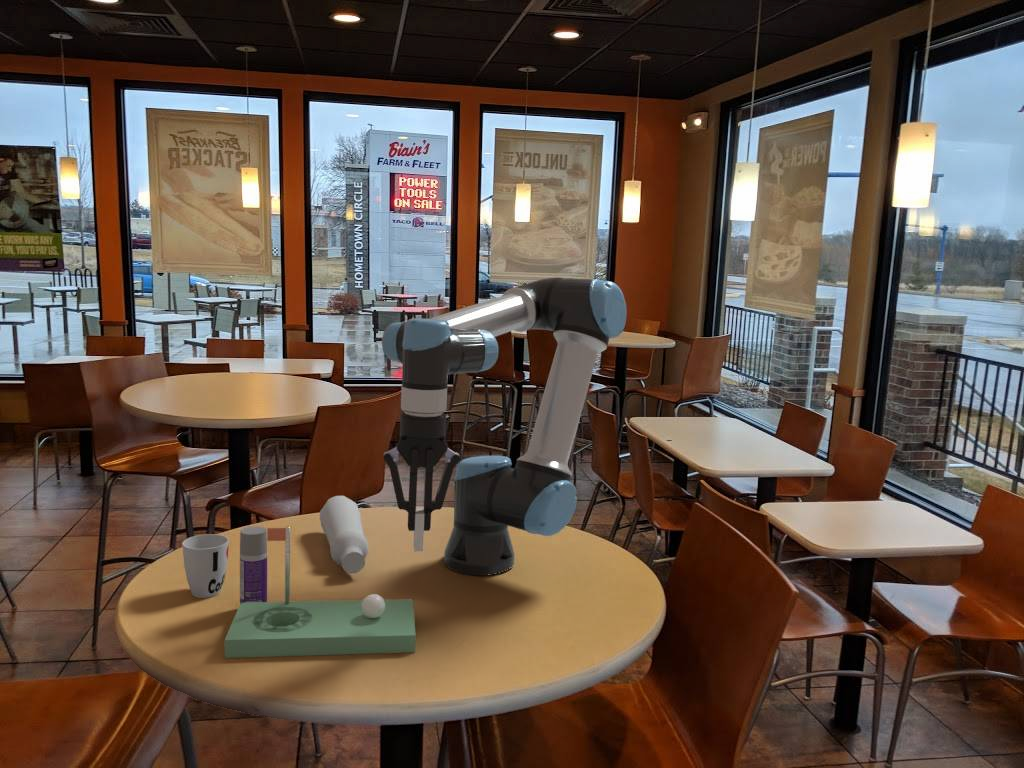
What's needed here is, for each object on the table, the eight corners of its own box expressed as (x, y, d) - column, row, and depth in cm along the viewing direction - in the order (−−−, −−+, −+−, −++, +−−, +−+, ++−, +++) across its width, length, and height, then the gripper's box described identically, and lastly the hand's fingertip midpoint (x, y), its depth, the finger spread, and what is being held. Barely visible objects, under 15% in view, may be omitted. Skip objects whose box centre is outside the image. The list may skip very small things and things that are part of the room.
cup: (213, 603, 144) (213, 551, 143) (173, 597, 146) (173, 546, 145) (237, 586, 152) (237, 536, 151) (199, 581, 154) (198, 532, 152)
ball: (385, 611, 138) (385, 590, 137) (384, 622, 134) (385, 599, 133) (361, 612, 137) (362, 590, 136) (360, 622, 133) (361, 600, 133)
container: (272, 607, 144) (272, 528, 142) (256, 617, 140) (256, 536, 137) (250, 602, 146) (250, 524, 143) (234, 612, 141) (233, 532, 139)
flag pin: (289, 602, 140) (290, 526, 137) (289, 604, 139) (289, 527, 137) (267, 602, 139) (267, 526, 137) (266, 604, 138) (267, 528, 136)
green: (412, 614, 144) (413, 599, 143) (415, 652, 130) (415, 635, 130) (240, 618, 139) (240, 602, 139) (224, 657, 125) (224, 640, 125)
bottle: (311, 518, 184) (321, 570, 156) (333, 486, 184) (347, 533, 156) (343, 536, 187) (359, 591, 159) (365, 505, 188) (385, 554, 160)
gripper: (460, 409, 136) (454, 540, 139) (383, 407, 134) (379, 540, 137) (464, 417, 129) (458, 556, 132) (383, 415, 126) (379, 556, 130)
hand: (418, 548), depth 134 cm, fingers closed
